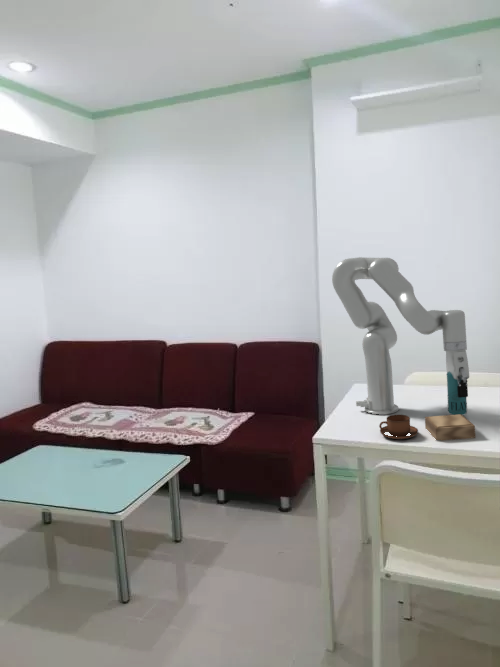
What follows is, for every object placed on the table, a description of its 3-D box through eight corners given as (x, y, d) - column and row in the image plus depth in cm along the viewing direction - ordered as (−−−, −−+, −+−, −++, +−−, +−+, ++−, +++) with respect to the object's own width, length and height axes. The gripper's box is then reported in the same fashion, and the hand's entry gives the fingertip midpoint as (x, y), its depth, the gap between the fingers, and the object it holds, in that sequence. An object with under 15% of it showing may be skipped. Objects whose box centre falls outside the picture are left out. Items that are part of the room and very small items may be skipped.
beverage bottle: (448, 419, 180) (446, 363, 177) (447, 413, 186) (444, 359, 183) (468, 419, 178) (466, 362, 175) (466, 413, 184) (464, 358, 181)
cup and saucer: (393, 444, 162) (392, 426, 161) (373, 433, 173) (372, 416, 172) (425, 437, 165) (424, 419, 164) (404, 427, 176) (403, 410, 176)
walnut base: (436, 440, 161) (435, 427, 161) (425, 428, 173) (424, 416, 172) (475, 438, 160) (474, 424, 160) (461, 425, 172) (461, 413, 172)
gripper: (475, 348, 170) (478, 398, 172) (457, 341, 187) (460, 386, 189) (452, 350, 170) (455, 401, 172) (436, 343, 187) (439, 388, 189)
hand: (458, 393), depth 181 cm, fingers open, 9 cm apart
